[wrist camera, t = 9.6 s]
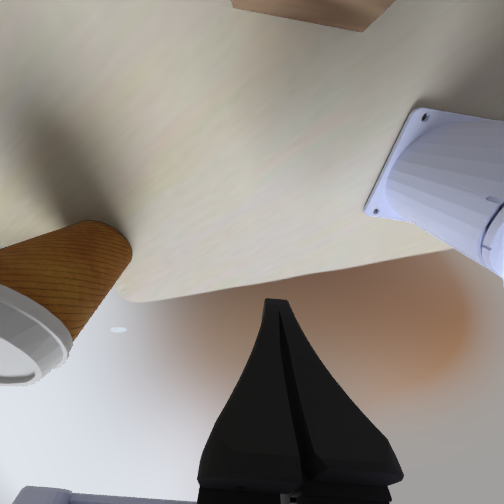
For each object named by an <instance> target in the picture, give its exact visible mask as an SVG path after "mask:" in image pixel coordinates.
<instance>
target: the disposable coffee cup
mask: <svg viewBox="0 0 504 504" xmlns="http://www.w3.org/2000/svg"><path fill="white" fill-rule="evenodd" d="M131 259H132V251H131V247H130V246H129V244H128V242H127V241H126V239H125V238H124V237H123V236H122V235H121V234H120V233H119V232H118V231H116V230H115V229H114V228H112V227H110V226H108V225H106V224H104V223H101V222H97V221H91V220H88V221H82V222H79V223H76V224H73V225H70V226H67V227H65V228H62V229H59V230H56V231H53V232H50V233H47V234H43V235H40V236H37V237H34V238H32V239H29V240H26V241H23V242H20V243H17V244H14V245H11V246H8V247H5V248H2V249H0V386H27V385H31V384H34V383H36V382H38V381H39V380H40V379H41V378H43V377H44V376H45V375H46V374H48V373H49V372H50V371H51V370H52V369H55V368H58V367H60V366H61V365H63V364H64V363H65V362H66V360H67V359H68V357H69V352H70V350H71V348H72V346H73V341H74V340H75V338H76V337H77V336H78V334H79V333H80V331H81V330H82V329H83V327H84V326H85V324H86V323H87V322H88V320H89V319H90V317H91V316H92V315H93V313H94V312H95V310H96V309H97V308H98V306H99V305H100V303H101V302H102V300H103V299H104V298H105V296H106V295H107V294H108V292H109V291H110V289H111V288H112V287H113V285H114V284H115V282H116V281H117V280H118V278H119V277H120V276H121V274H122V272H123V271H124V270H125V268H126V267H127V266H128V264H129V263H130V262H131Z"/></svg>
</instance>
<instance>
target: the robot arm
mask: <svg viewBox="0 0 504 504" xmlns="http://www.w3.org/2000/svg"><path fill="white" fill-rule="evenodd" d="M424 114H426V118H425V119H424V121H422V116H423V115H424ZM375 209H377V211H376V212H374V213H373V211H374V210H375ZM363 211H364V213H365V214H366V215H368V216H374V217H380V218H387V219H394V220H400V221H407V222H411V223H413V224H415V225H416V226H418V227H420V228H421V229H423V230H425V231H426V232H428V233H430V234H431V235H433V236H434V237H436V238H438V239H439V240H441V241H443V242H444V243H446V244H448V245H449V246H451V247H453V248H454V249H456V250H458V251H459V252H461V253H462V254H464V255H466V256H468V257H469V258H471V259H472V260H474V261H476V262H477V263H479V264H481V265H482V266H484V267H486V268H487V269H489V270H490V271H492V272H493V273H495V274H497V275H498V276H500V277H501V278H502V279H503V281H504V120H498V121H497V120H492V119H486V118H480V117H475V116H469V115H463V114H458V113H452V112H446V111H441V110H435V109H430V108H424V107H421V108H416V109H414V110H413V111H412V112H411V113H410V114H409V116H408V118H407V120H406V122H405V125H404V127H403V129H402V131H401V133H400V135H399V137H398V139H397V141H396V143H395V145H394V147H393V149H392V152H391V154H390V156H389V158H388V160H387V162H386V164H385V166H384V168H383V170H382V172H381V174H380V176H379V178H378V181H377V183H376V185H375V187H374V189H373V191H372V193H371V195H370V197H369V199H368V201H367V203H366V205H365V207H364V210H363ZM503 286H504V285H503ZM403 477H404V474H403V472H402V469H401V467H400V464H399V462H398V460H397V458H396V455H395V453H394V451H393V449H392V447H391V445H390V443H389V441H388V439H387V438H386V437H385V436H384V435H383V434H382V433H381V432H380V431H379V430H378V429H377V428H376V427H375V426H374V425H373V424H372V422H370V420H369V419H368V418H367V417H366V416H365V415H364V414H363V413H362V411H361V410H360V409H359V408H358V407H357V406H356V405H355V404H354V402H353V401H352V400H351V399H350V398H349V396H348V395H347V394H346V393H345V392H344V390H343V389H342V388H341V387H340V385H338V383H337V382H336V380H335V379H334V378H333V377H332V375H331V374H330V373H329V371H328V370H327V369H326V367H325V366H324V365H323V363H322V362H321V360H320V359H319V357H318V356H317V354H316V353H315V351H314V350H313V348H312V346H311V345H310V343H309V342H308V340H307V338H306V337H305V335H304V333H303V331H302V329H301V327H300V326H299V324H298V322H297V320H296V318H295V316H294V314H293V312H292V309H291V307H290V305H289V302H288V301H287V300H281V299H269V298H267V299H265V302H264V308H263V314H262V323H261V327H260V330H259V333H258V336H257V339H256V342H255V345H254V347H253V350H252V352H251V355H250V357H249V359H248V362H247V364H246V366H245V368H244V370H243V373H242V375H241V377H240V379H239V381H238V383H237V385H236V386H235V388H234V390H233V392H232V394H231V396H230V398H229V400H228V401H227V403H226V405H225V407H224V409H223V410H222V412H221V414H220V415H219V417H218V419H217V421H216V422H215V425H214V427H213V429H212V432H211V434H210V436H209V439H208V441H207V443H206V445H205V448H204V450H203V453H202V456H201V460H200V465H199V471H198V477H197V480H198V482H199V484H200V488H199V494H198V500H197V502H190V501H189V502H188V501H176V500H162V499H148V498H135V497H119V496H107V495H93V494H79V493H72V491H69V490H65V489H59V488H48V487H34V486H26V487H24V488H23V489H22V490H21V491H20V493H19V494H18V496H17V497H16V499H15V500H14V502H13V503H12V504H389V502H391V501H392V498H391V495H390V492H389V490H388V487H387V486H388V485H391V484H394V483H397V482H399V481H401V480H402V479H403ZM280 497H281V498H280Z"/></svg>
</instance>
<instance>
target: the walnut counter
mask: <svg viewBox="0 0 504 504" xmlns="http://www.w3.org/2000/svg"><path fill="white" fill-rule="evenodd" d="M231 1H232V5H233V8H238V9H243V10H249V11H254V12H259V13H264V14H269V15H275V16H280V17H285V18H290V19H295V20H300V21H306V22H311V23H316V24H321V25H326V26H332V27H337V28H342V29H347V30H352V31H358V32H363V31H364V30H365V29H366V28H367V27H368V26H369V25H370V24H372V23H373V22H374V21H375V20H376V19H377V18H378V17H379V16H380V15H381V14H382V13H383V12H384V11H385V10H386V9H387V8H388V7H389V6H390V5H391V4H392V3H393V2H394V1H395V0H231Z"/></svg>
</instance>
